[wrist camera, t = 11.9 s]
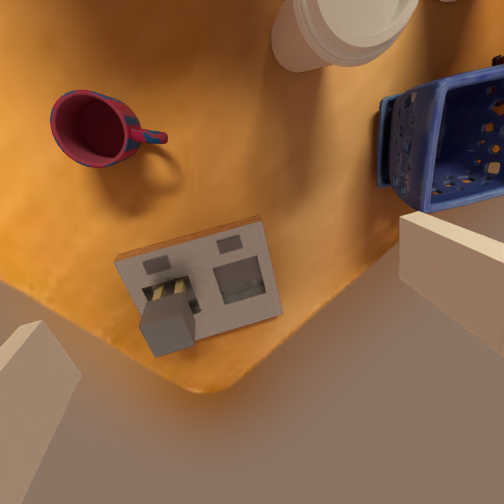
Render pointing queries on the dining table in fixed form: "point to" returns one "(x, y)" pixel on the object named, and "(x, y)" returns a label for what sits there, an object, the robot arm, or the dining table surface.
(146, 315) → the plug
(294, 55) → the coffee cup
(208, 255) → the socket
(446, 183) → the flower pot
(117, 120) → the cup
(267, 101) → the dining table surface
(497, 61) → the mate gourd
